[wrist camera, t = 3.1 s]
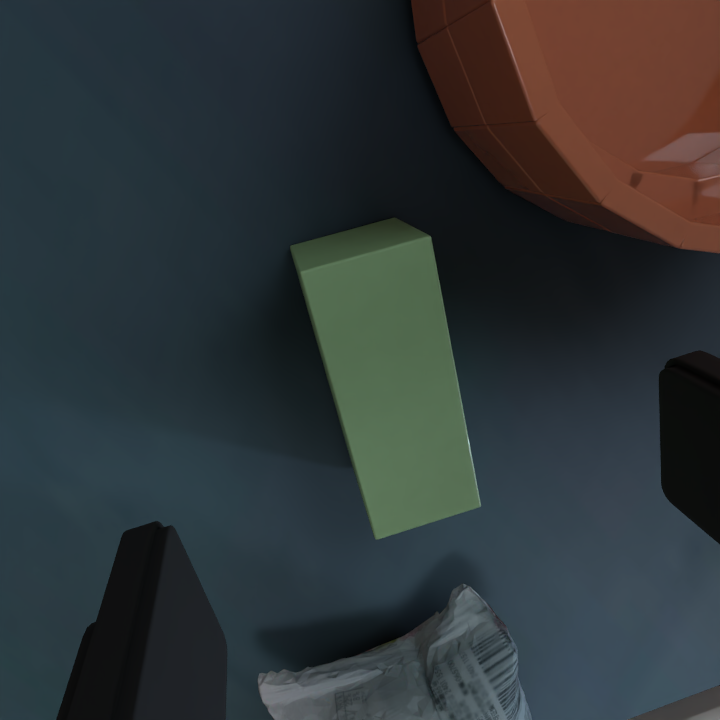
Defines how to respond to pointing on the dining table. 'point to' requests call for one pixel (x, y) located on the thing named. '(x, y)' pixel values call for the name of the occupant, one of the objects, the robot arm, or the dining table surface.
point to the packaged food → (413, 674)
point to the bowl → (589, 106)
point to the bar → (390, 371)
